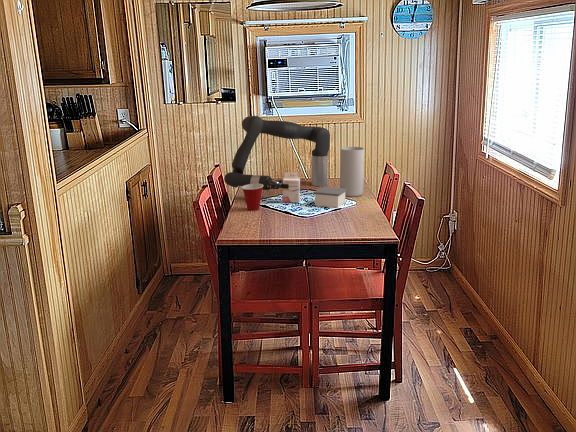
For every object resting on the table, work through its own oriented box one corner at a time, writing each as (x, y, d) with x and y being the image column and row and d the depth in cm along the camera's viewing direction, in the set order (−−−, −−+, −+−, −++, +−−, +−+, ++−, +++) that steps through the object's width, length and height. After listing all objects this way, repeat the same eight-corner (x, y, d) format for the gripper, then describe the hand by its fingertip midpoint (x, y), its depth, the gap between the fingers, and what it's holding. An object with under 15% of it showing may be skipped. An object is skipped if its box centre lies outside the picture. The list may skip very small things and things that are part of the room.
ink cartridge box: (282, 202, 302) (282, 173, 299) (283, 200, 307) (283, 172, 303) (299, 202, 302) (299, 174, 298) (299, 200, 306) (300, 172, 303)
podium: (322, 199, 309) (322, 186, 307) (346, 202, 304) (346, 188, 302) (313, 205, 297) (313, 192, 295) (338, 208, 292) (338, 194, 290)
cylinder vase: (335, 194, 320) (335, 148, 313) (348, 190, 329) (350, 145, 322) (353, 198, 312) (355, 151, 305) (367, 194, 321) (369, 148, 314)
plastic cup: (242, 206, 296) (241, 183, 293) (263, 206, 296) (263, 182, 293) (241, 212, 285) (240, 188, 282) (263, 211, 286) (263, 187, 283)
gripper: (254, 178, 301) (285, 180, 295) (266, 172, 313) (296, 175, 307) (255, 192, 303) (285, 195, 297) (266, 186, 316) (296, 189, 309)
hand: (290, 185), depth 302 cm, fingers closed on ink cartridge box, 6 cm apart
